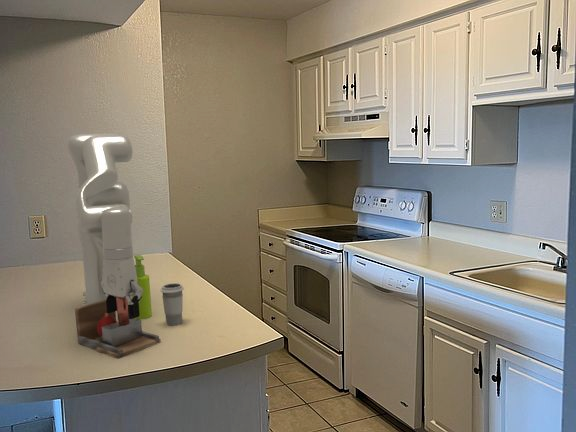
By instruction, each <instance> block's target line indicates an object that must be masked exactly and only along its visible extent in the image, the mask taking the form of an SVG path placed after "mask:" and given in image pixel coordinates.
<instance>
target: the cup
mask: <svg viewBox="0 0 576 432" xmlns="http://www.w3.org/2000/svg"><path fill="white" fill-rule="evenodd" d="M184 289H185V288H184V287H183V285H182V283H180V282H170V283H166V284H163V285H162V286H161V289H160V292H161V293H162V301H163V302H162V304H163V310H164V315H165V321H166V325H167V326H168V327H169V326H170V327H175V326H176V327H177V326H180V325H181V324H183V295H184V294H183V290H184Z"/></svg>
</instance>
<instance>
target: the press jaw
mask: <svg viewBox="0 0 576 432" xmlns="http://www.w3.org/2000/svg"><path fill="white" fill-rule="evenodd" d="M115 297H116V296H115ZM116 302H117V311H116V312H117V313H116V315H117V322H116V323H113V324H110V325H107V326H104V327H102V336H103V337H102V343H104V344H107V345H110V346H113V347H116V346H118V345H121V344H124V343H126V342H129V341H132V340H135V339H137V338H140V337H142V331H143V328H142V327H143V326H142V319H137V318H133V319H129V315H128V305H129V302H128V300H127V299H126V297H124V298H120V297H116Z"/></svg>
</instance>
